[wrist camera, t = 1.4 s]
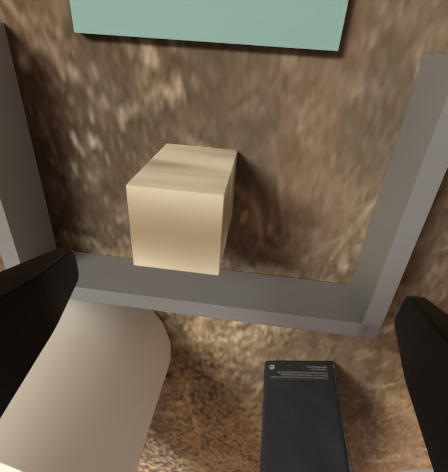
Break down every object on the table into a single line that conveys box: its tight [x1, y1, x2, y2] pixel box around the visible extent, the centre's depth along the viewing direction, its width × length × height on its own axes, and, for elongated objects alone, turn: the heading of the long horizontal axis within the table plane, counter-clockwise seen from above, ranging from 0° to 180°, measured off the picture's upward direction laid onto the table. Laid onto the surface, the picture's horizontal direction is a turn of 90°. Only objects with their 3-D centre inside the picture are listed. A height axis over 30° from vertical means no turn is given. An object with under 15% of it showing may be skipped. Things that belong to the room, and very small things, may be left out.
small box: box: [260, 361, 353, 472], centre depth 28 cm, size 11×6×10 cm, turn 8°
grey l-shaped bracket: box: [0, 23, 448, 339], centre depth 21 cm, size 16×25×4 cm, turn 87°
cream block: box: [126, 144, 237, 275], centre depth 19 cm, size 4×4×7 cm
